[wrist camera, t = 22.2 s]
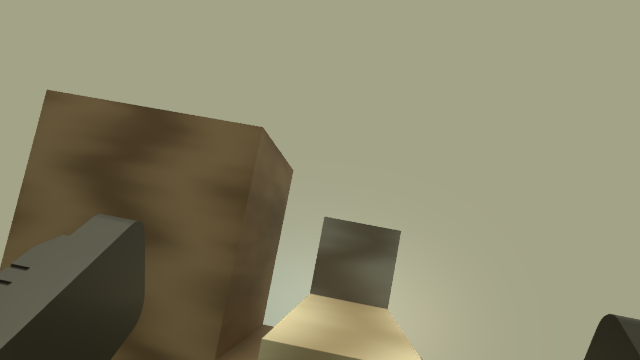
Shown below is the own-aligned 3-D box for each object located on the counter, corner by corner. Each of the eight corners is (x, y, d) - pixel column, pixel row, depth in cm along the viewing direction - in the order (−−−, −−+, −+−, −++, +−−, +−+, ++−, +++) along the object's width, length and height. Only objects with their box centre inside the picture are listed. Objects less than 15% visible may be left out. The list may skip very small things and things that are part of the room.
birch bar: (235, 470, 12) (294, 173, 13) (306, 338, 32) (328, 222, 33) (409, 510, 12) (457, 203, 13) (373, 351, 32) (393, 234, 33)
